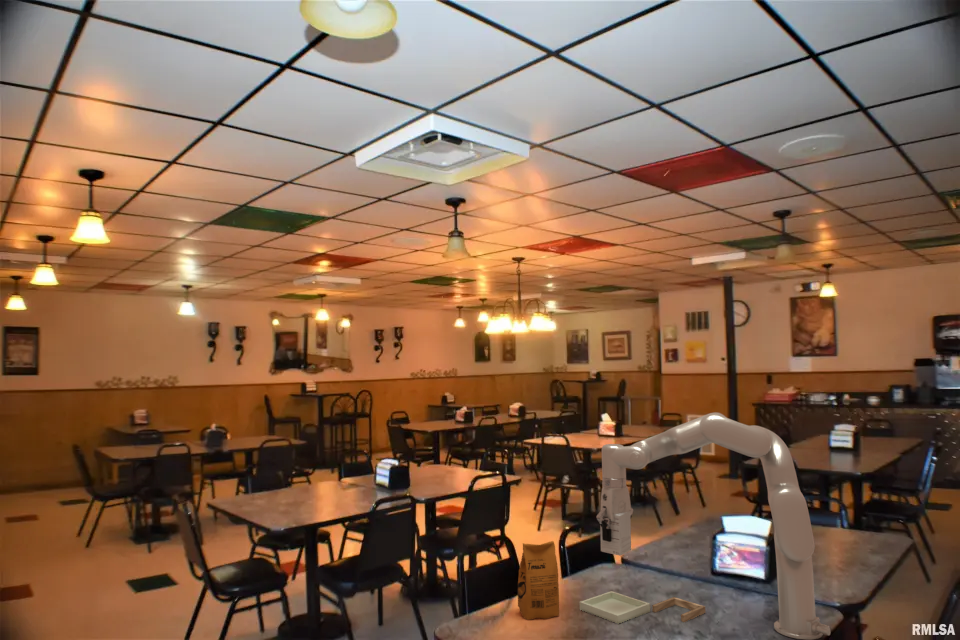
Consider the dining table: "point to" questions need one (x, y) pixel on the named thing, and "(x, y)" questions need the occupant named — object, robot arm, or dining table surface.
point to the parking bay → (694, 608)
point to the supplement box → (618, 535)
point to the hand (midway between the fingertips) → (616, 538)
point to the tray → (615, 607)
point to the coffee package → (538, 582)
